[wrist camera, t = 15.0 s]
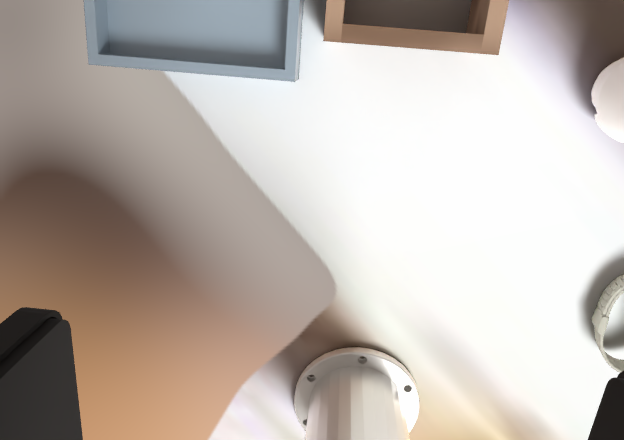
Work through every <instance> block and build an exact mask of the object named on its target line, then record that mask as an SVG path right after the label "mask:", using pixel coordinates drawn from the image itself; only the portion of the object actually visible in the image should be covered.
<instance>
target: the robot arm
mask: <svg viewBox="0 0 624 440" xmlns="http://www.w3.org/2000/svg"><path fill="white" fill-rule="evenodd" d="M294 406H295V413H296V415H297V418H298V420H299V422H300V424H301V425H302V427H303V428H304V430H305V431H306V435H305V440H410V438H409V432H410V431H411V430H412V428H413V426H414V424H415V423H416V421H417V417H418V414H419V407H420V400H419V394H418V390H417V386H416V383H415V381H414V379H413V377H412V376H411V374H410V372H409V371H408V370H407V369H406V368H405V367H404V366H403V365H402V364H401V363H400V362H398V361H397V360H396V359H394V358H393V357H391V356H389V355H387V354H385V353H383V352H380V351H376V350H373V349H368V348H361V347H350V348H342V349H337V350H334V351H331V352H328V353H325V354H323V355H322V356H320V357H318V358H317V359H315V360H314V361H313V362H312V363H310V364H309V365H308V366H307V367H306V368H305V370H304V371H303V372H302V374H301V375H300V378H299V380H298V382H297V385H296V390H295V397H294ZM0 440H83V438H82V428H81V419H80V410H79V401H78V393H77V383H76V374H75V364H74V355H73V346H72V337H71V328H70V325H69V323H68V321H66V320H62V316H61V315H60V313H59V312H57V311H55V310H46V309H36V308H27V307H26V308H20V309H19V310H17V311H16V312H14V313H13V314H12V315H11V316H9V317H8V318H7V319H6V320H5V321H3V322H2V323H1V324H0ZM588 440H624V371H622V372H621V373H620V374H619V375H618V377H617V378H611V379H610V380H609V381H608V383H607V385H606V388H605V391H604V394H603V397H602V400H601V403H600V406H599V409H598V412H597V414H596V417H595V420H594V423H593V426H592V429H591V432H590V435H589V438H588Z"/></svg>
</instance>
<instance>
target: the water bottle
mask: <svg viewBox="0 0 624 440" xmlns="http://www.w3.org/2000/svg"><path fill="white" fill-rule="evenodd" d="M591 97H592V103H593V105H594V106H595V108H596V111H597V114H595V115H594V116H595V121H596V123H597V124H598V126H599V127H600V128H601V129H602V130H603V131H604V132H605V133H606V134H607V135H608V136H610V137H612V138H613V139H615V140H617V141H619V142H621V143H624V57H623V58H621V59H619V60H618V61H615V62H613V63H612V64H610V65H609V66H607V67H606V68H605V69H604V70H603V71H602V72H601V73H600V74H599V76H598V78H597V79H596V81H595V83H594V85H593V88H592V91H591Z"/></svg>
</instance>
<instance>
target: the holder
mask: <svg viewBox="0 0 624 440" xmlns="http://www.w3.org/2000/svg"><path fill="white" fill-rule="evenodd" d="M345 2H346V0H327V2H326V15H325V27H324V40H323V41H330V42H342V43H355V44H367V45H380V46H392V47H405V48H417V49H430V50H442V51H455V52H467V53H480V54H492V55H498V54H499V49H500V44H501V39H502V34H503V29H504V24H505V18H506V13H507V8H508V3H509V0H472V1H471V7H470V13H469V18H468V24H467V30H466V33H456V32H443V31H431V30H418V29H405V28H393V27H380V26H367V25H354V24H344V13H345Z"/></svg>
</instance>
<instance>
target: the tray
mask: <svg viewBox="0 0 624 440" xmlns="http://www.w3.org/2000/svg"><path fill="white" fill-rule="evenodd" d="M84 11H85V24H86V36H87V49H88V61H89V64H90V65H101V66H114V67H125V68H139V69H150V70H161V71H173V72H185V73H197V74H209V75H221V76H233V77H245V78H257V79H269V80H281V81H293V82H295V81H296V80H298V79H299V64H300V48H301V32H302V16H303V0H84Z"/></svg>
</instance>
